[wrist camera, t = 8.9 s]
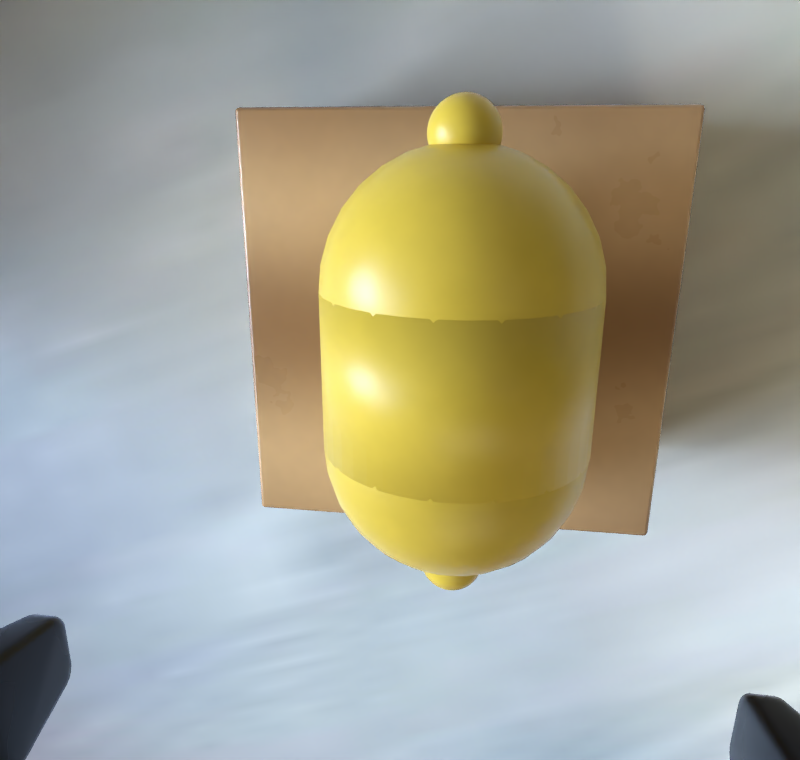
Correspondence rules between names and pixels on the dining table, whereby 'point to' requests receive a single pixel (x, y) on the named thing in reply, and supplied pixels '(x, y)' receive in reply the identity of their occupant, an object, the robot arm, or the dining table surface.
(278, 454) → the maple block
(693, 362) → the dining table surface
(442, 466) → the lemon
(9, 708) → the robot arm
